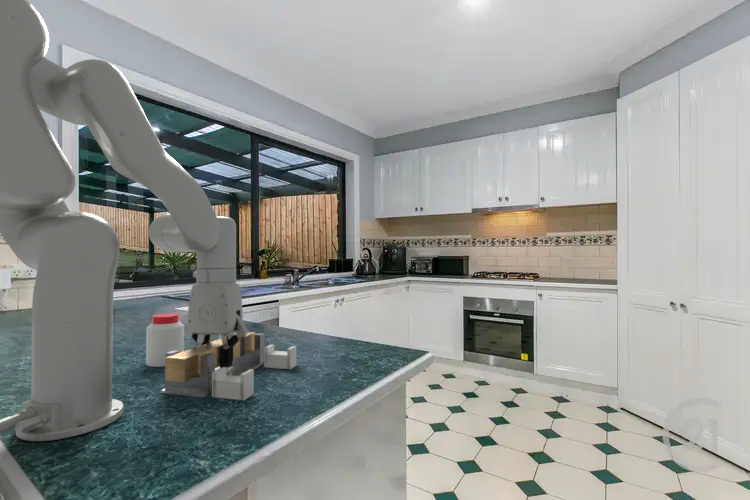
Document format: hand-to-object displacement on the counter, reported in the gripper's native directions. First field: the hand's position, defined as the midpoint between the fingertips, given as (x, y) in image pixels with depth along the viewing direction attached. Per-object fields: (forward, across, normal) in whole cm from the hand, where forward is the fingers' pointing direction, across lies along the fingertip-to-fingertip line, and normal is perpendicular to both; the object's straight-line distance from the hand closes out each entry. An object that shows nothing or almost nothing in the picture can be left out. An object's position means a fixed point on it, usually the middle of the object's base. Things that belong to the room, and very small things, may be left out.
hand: (216, 365), depth 77 cm
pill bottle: (+3, -19, +7) cm, 21 cm away
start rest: (+3, +9, +1) cm, 9 cm away
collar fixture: (+3, 0, +1) cm, 3 cm away
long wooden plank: (-1, 0, 0) cm, 1 cm away
